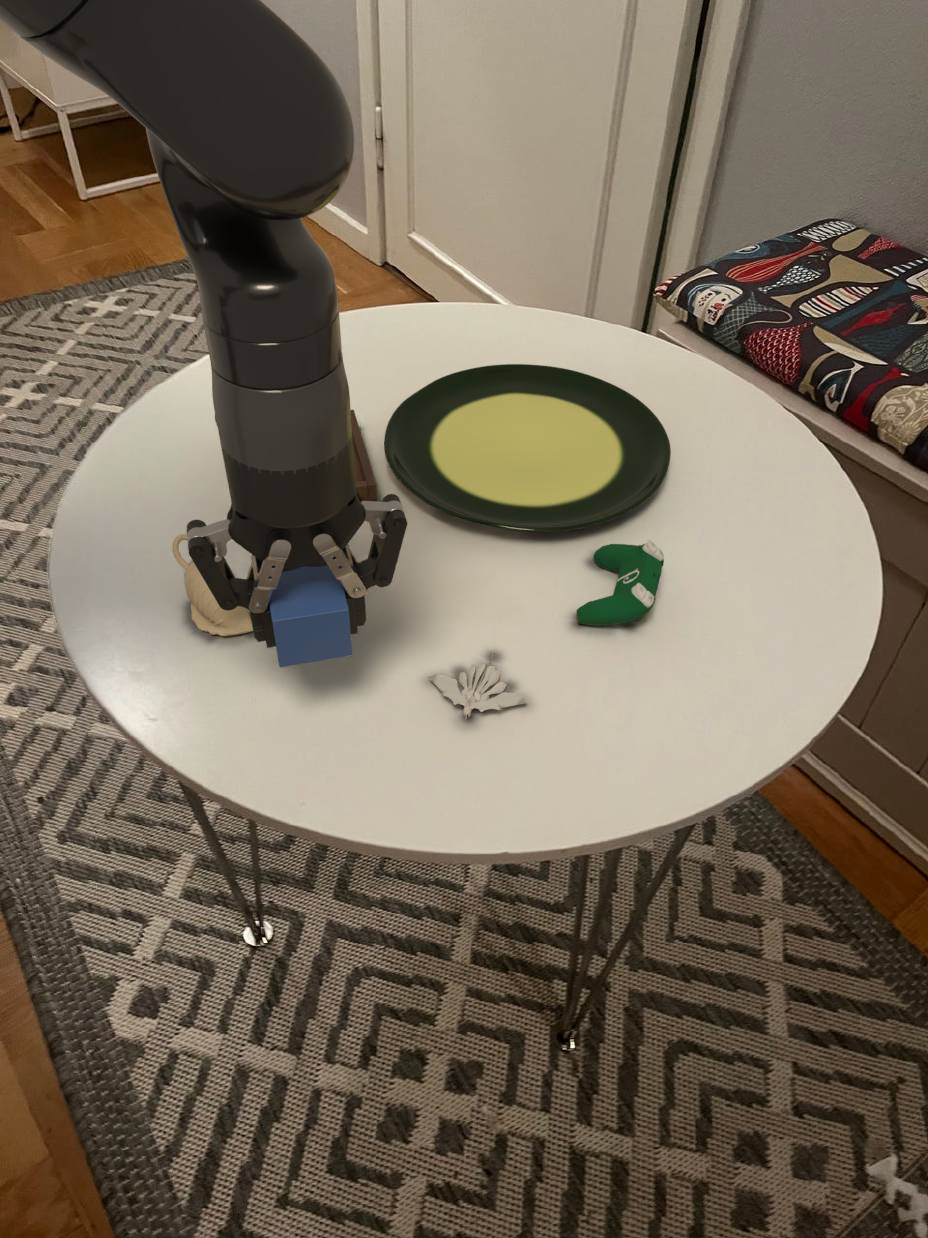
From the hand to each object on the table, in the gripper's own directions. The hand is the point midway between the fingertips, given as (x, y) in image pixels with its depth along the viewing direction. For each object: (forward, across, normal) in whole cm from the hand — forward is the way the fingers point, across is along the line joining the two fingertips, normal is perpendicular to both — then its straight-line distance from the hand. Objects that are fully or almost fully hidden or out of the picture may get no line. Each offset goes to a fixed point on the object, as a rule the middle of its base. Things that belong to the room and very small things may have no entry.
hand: (311, 631), depth 67 cm
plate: (+8, +24, +27) cm, 37 cm away
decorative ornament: (+8, -7, +12) cm, 16 cm away
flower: (+8, +12, -1) cm, 15 cm away
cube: (0, 0, 0) cm, 0 cm away
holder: (+8, +3, +29) cm, 30 cm away
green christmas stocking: (+8, +26, +6) cm, 28 cm away
